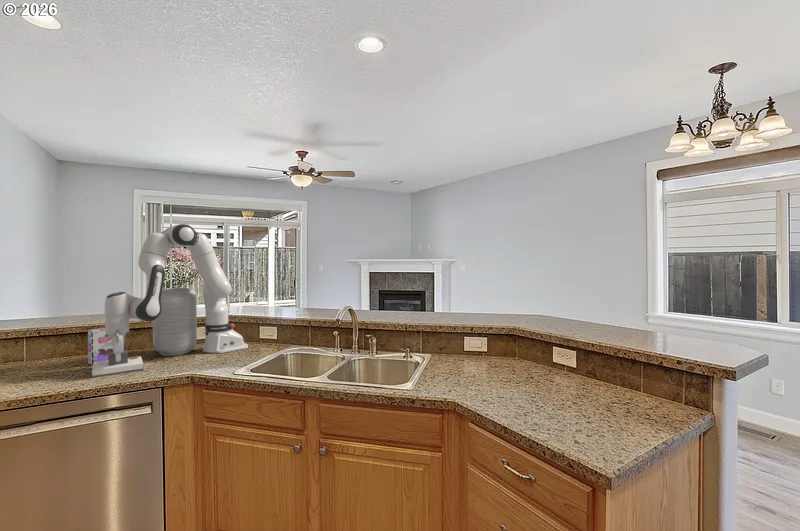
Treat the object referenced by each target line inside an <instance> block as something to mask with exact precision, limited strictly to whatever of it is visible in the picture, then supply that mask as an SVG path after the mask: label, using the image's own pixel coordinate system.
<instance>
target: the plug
mask: <svg viewBox="0 0 800 531" xmlns="http://www.w3.org/2000/svg"><path fill="white" fill-rule="evenodd" d="M128 356H129V352H128V349H127V350H124V351H123V353H121V361H118V362H117V361H116V356H115V354H114V353H113V352H108V363H109V365H113V364H114V365H115V364H123V363H128V358H129V357H128Z"/></svg>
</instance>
